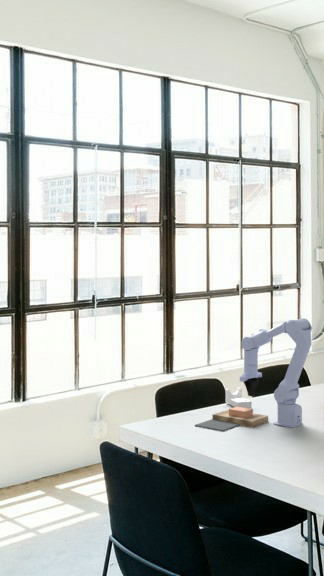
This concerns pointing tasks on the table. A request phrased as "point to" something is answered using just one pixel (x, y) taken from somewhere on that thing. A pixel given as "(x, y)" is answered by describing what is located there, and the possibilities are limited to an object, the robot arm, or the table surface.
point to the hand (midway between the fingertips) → (251, 395)
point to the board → (241, 419)
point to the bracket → (237, 399)
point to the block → (240, 412)
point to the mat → (217, 425)
